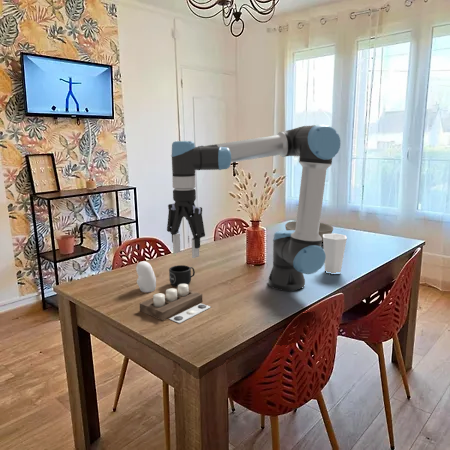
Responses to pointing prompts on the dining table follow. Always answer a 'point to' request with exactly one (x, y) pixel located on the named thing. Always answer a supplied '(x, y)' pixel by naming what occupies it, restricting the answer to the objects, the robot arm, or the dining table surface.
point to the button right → (183, 290)
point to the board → (171, 305)
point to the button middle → (171, 295)
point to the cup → (334, 251)
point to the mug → (180, 275)
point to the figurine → (145, 277)
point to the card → (189, 313)
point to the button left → (159, 300)
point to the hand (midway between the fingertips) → (186, 254)
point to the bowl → (322, 228)
